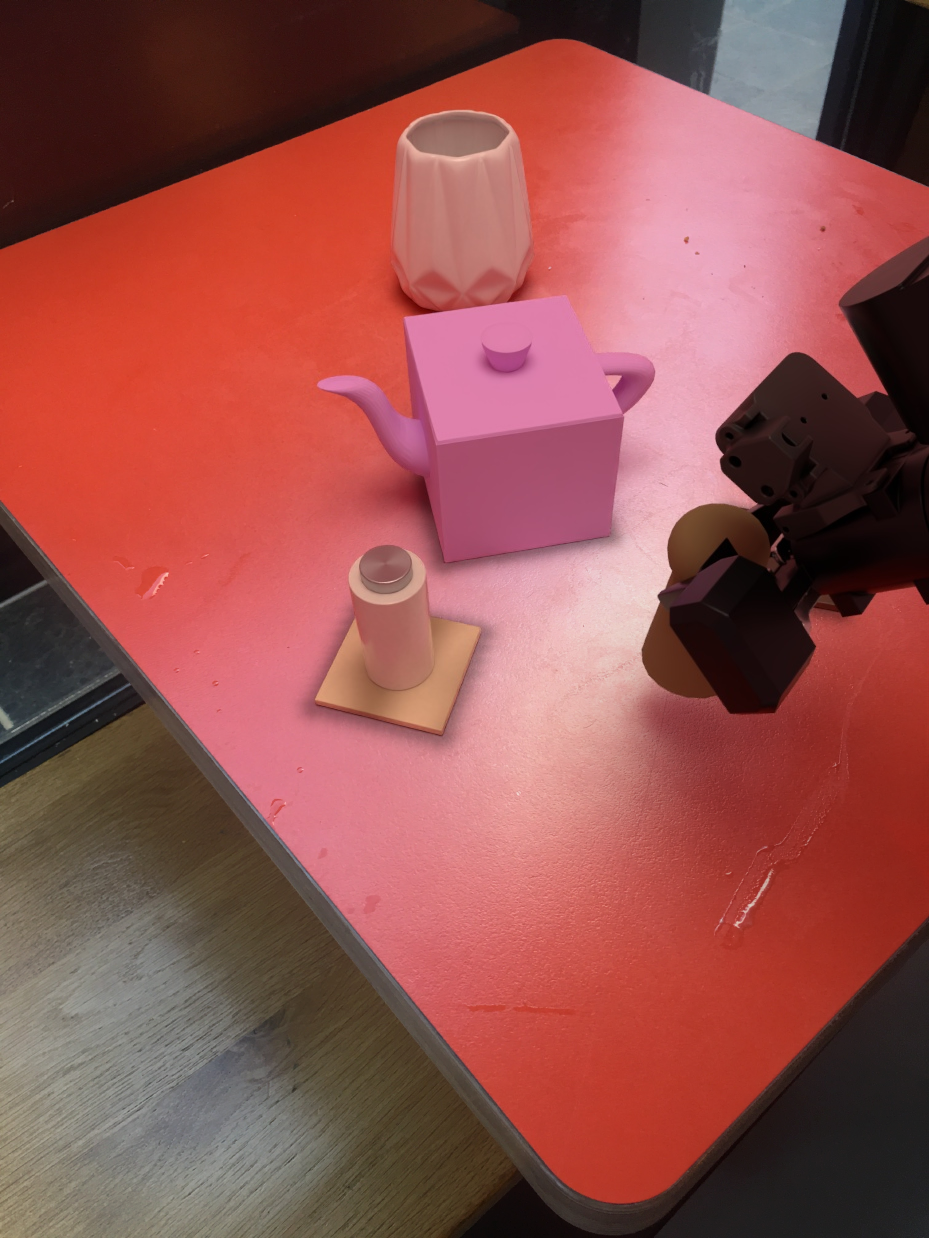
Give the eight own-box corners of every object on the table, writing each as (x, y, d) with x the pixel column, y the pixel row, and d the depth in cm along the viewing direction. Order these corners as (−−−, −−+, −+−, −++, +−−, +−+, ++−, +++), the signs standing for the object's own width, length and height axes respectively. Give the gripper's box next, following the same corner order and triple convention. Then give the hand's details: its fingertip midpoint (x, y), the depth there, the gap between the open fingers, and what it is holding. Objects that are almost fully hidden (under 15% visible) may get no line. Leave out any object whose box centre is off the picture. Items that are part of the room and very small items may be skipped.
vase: (497, 238, 100) (496, 88, 89) (556, 304, 92) (564, 147, 80) (375, 270, 97) (357, 118, 86) (425, 340, 89) (413, 183, 77)
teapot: (331, 449, 79) (303, 301, 68) (614, 406, 82) (630, 257, 71) (351, 578, 70) (322, 431, 59) (670, 526, 72) (699, 375, 61)
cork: (745, 626, 57) (786, 493, 48) (741, 706, 53) (784, 577, 45) (646, 611, 58) (669, 479, 50) (635, 689, 54) (657, 560, 46)
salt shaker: (448, 652, 64) (440, 553, 56) (409, 701, 62) (395, 604, 54) (391, 625, 66) (376, 525, 58) (351, 672, 63) (329, 573, 56)
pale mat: (481, 632, 66) (481, 626, 66) (442, 735, 61) (441, 730, 60) (363, 606, 68) (362, 601, 68) (315, 704, 63) (314, 699, 62)
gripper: (959, 240, 40) (697, 367, 54) (754, 470, 32) (501, 554, 45) (1067, 449, 43) (792, 521, 56) (907, 716, 34) (625, 727, 47)
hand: (687, 572), depth 51 cm, fingers closed on cork, 5 cm apart
